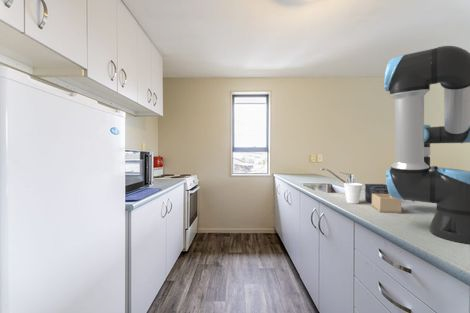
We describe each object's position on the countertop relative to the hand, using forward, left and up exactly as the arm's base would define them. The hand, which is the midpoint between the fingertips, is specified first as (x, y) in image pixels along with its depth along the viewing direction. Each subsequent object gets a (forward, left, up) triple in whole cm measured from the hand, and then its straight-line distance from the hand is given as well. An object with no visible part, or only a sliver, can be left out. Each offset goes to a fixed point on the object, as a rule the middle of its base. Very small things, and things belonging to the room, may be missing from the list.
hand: (419, 199), depth 114 cm
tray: (-3, +16, -6) cm, 17 cm away
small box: (+16, +14, -6) cm, 22 cm away
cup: (+10, +29, -6) cm, 31 cm away
